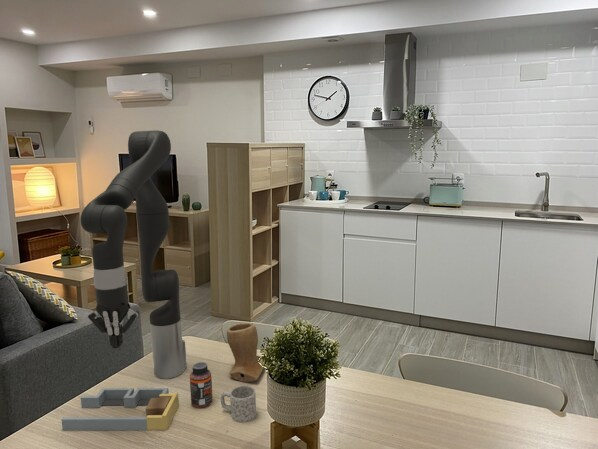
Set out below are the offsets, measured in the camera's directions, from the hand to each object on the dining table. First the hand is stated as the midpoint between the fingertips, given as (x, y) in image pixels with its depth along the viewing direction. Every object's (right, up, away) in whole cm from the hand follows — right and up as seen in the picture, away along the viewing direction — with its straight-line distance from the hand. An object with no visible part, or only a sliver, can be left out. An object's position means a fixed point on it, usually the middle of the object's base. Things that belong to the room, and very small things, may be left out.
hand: (117, 346), depth 120 cm
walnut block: (+10, -20, +3) cm, 22 cm away
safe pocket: (+11, -20, +3) cm, 23 cm away
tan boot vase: (+30, -15, +27) cm, 43 cm away
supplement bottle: (+20, -18, +10) cm, 29 cm away
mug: (+31, -19, +4) cm, 37 cm away
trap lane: (-2, -19, +6) cm, 20 cm away
